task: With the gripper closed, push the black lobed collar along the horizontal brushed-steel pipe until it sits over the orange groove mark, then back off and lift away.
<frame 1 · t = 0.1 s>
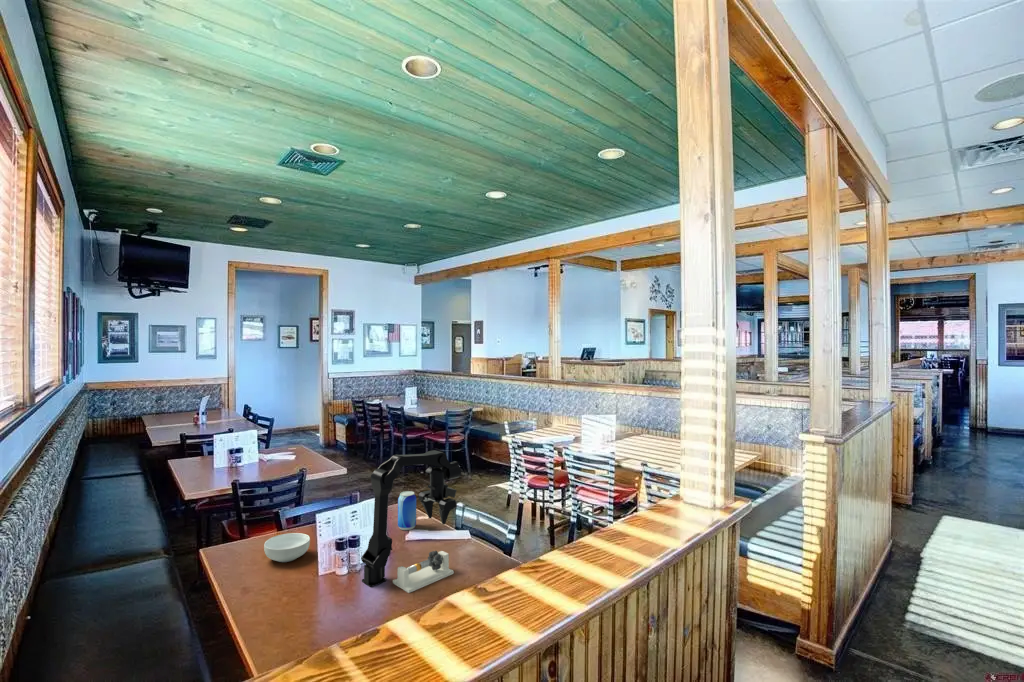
hand: (437, 521, 199), 15 cm above the table, fingers open, 9 cm apart
cereal bowl: (287, 558, 198), on the table
beer can: (407, 527, 231), on the table
base board: (423, 578, 181), on the table
black lobed collar: (434, 560, 185), point 5 cm above the table, slide at 0.0 cm
pipe: (423, 564, 181), point 4 cm above the table
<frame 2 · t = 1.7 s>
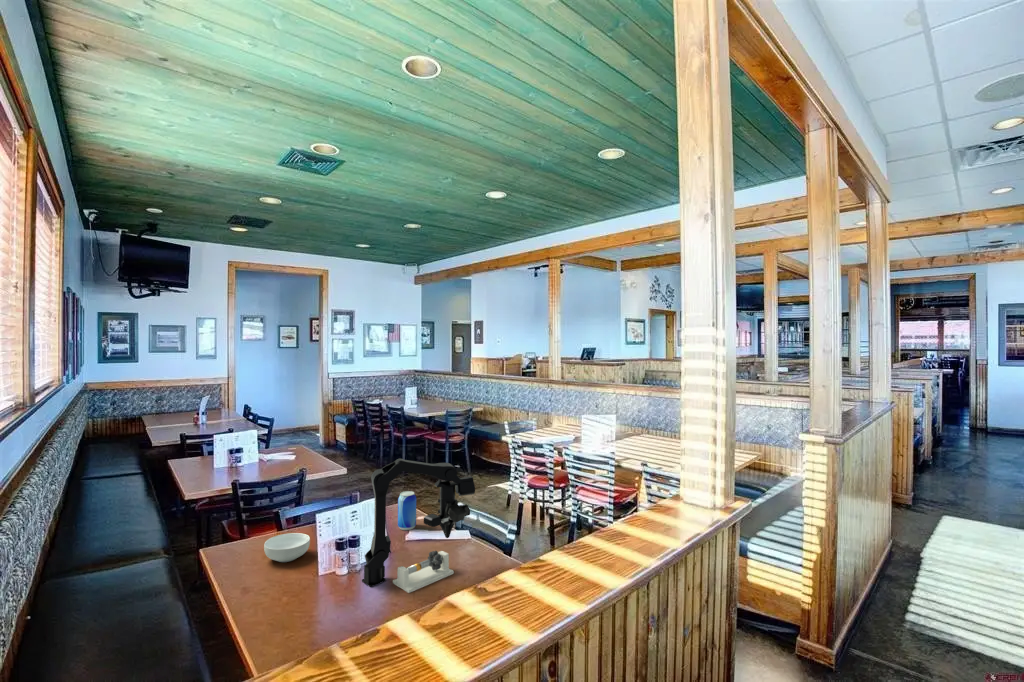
hand: (447, 537, 189), 12 cm above the table, fingers closed
nothing on the table moved.
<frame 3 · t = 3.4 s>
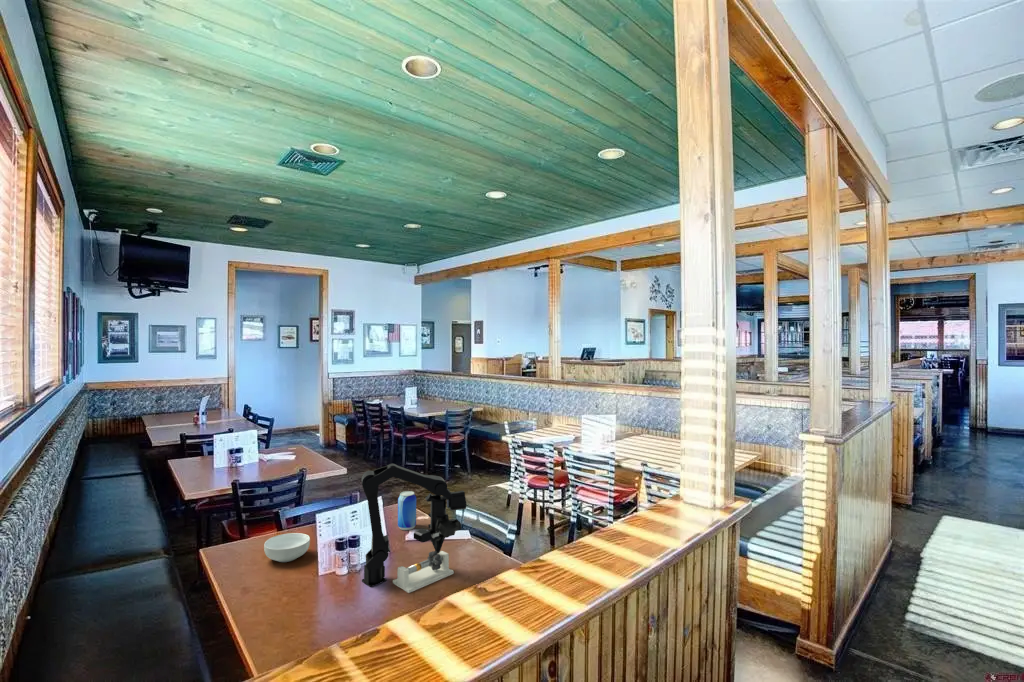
hand: (437, 552, 186), 7 cm above the table, fingers closed
black lobed collar: (434, 560, 185), point 5 cm above the table, slide at 0.1 cm, touching gripper
everything else where it was.
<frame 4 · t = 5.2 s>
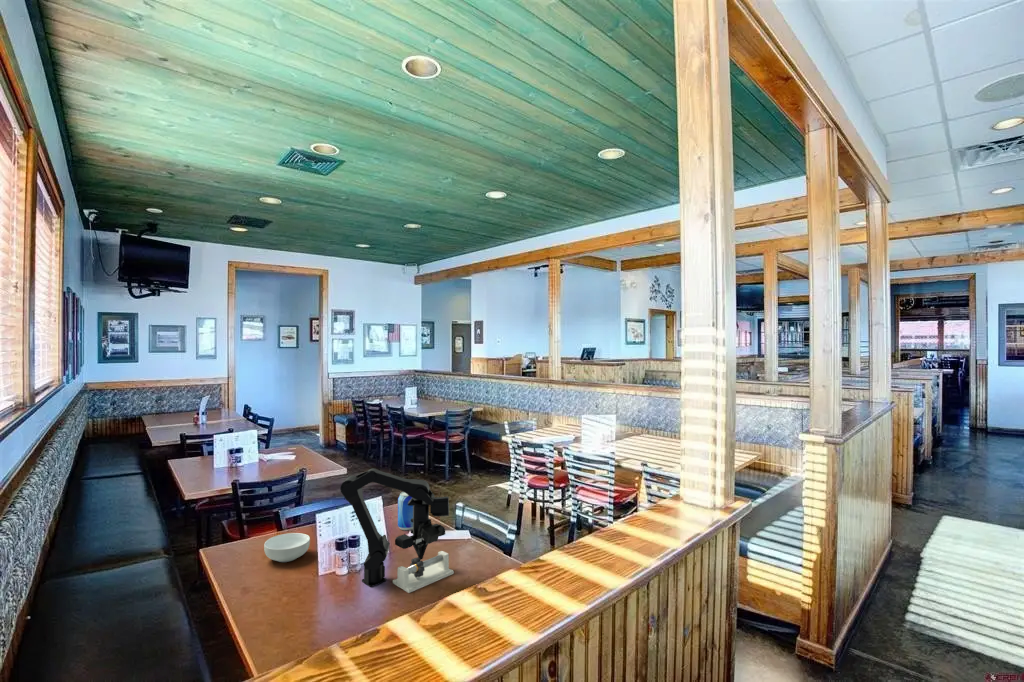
hand: (420, 559, 180), 7 cm above the table, fingers closed
black lobed collar: (417, 567, 179), point 5 cm above the table, slide at 7.9 cm, touching gripper
everything else where it was.
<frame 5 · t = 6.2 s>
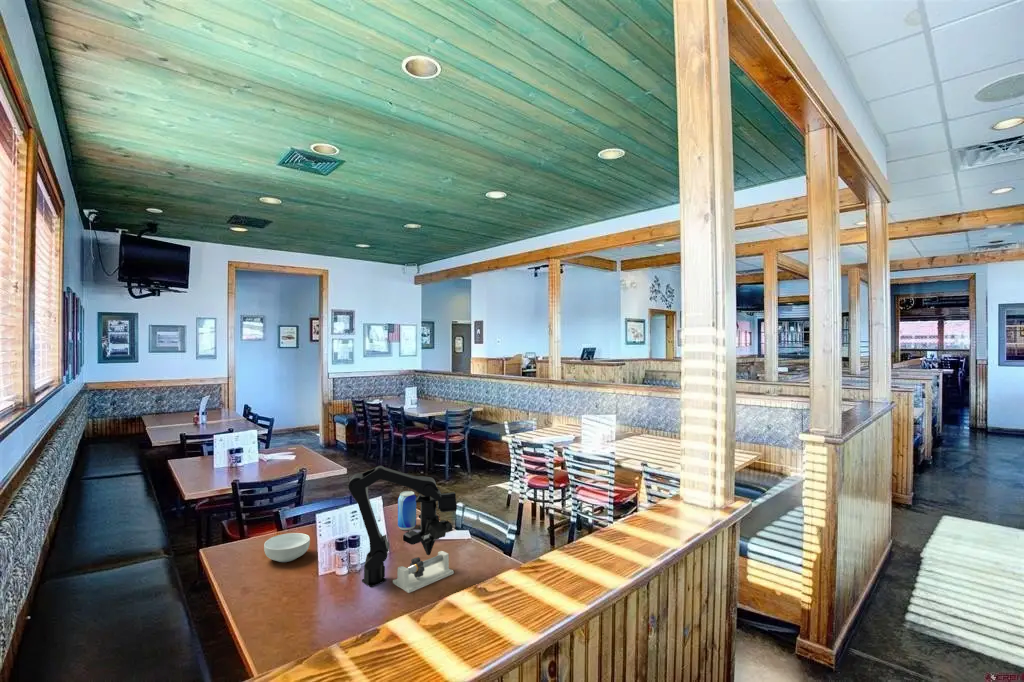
hand: (428, 554, 183), 8 cm above the table, fingers closed
black lobed collar: (417, 567, 179), point 5 cm above the table, slide at 8.0 cm
everything else where it was.
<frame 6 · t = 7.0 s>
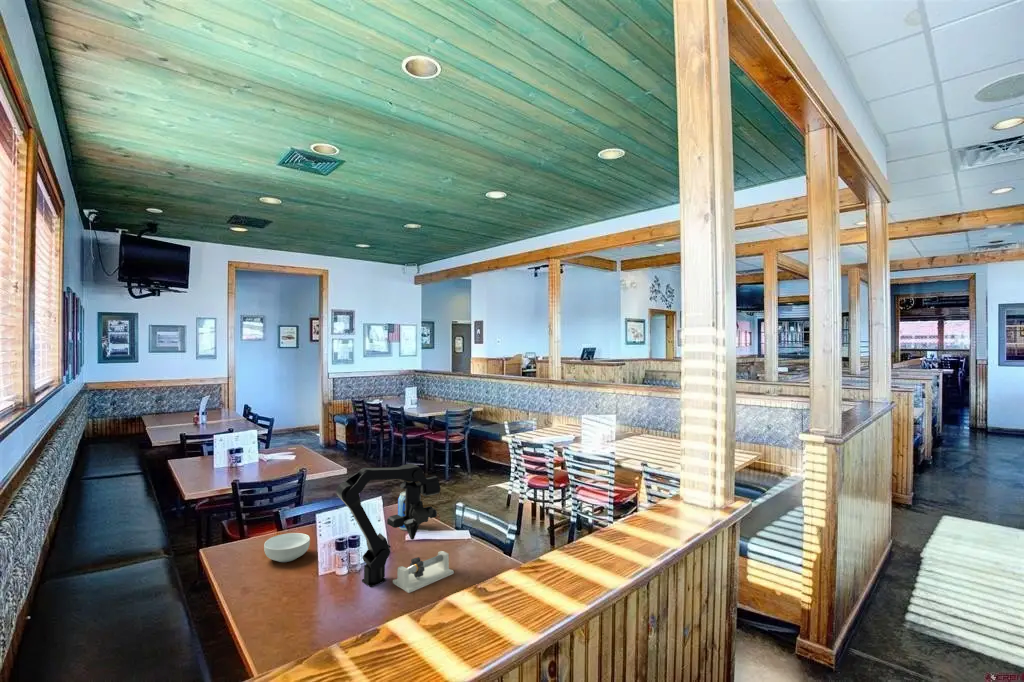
hand: (412, 539, 188), 12 cm above the table, fingers closed
nothing on the table moved.
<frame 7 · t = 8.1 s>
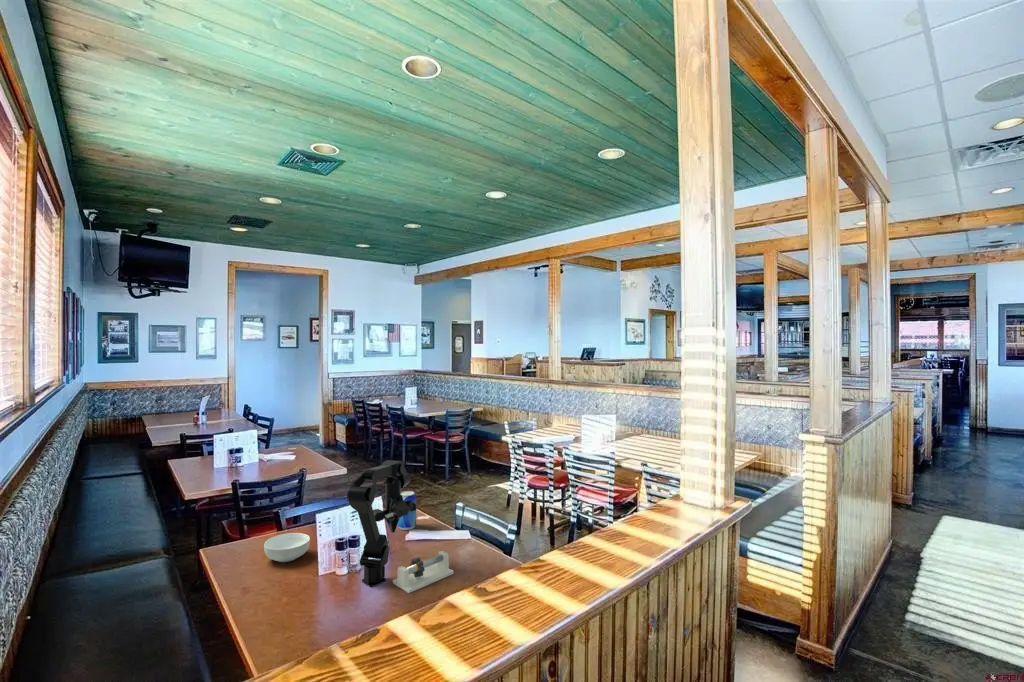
hand: (392, 532, 194), 12 cm above the table, fingers closed
nothing on the table moved.
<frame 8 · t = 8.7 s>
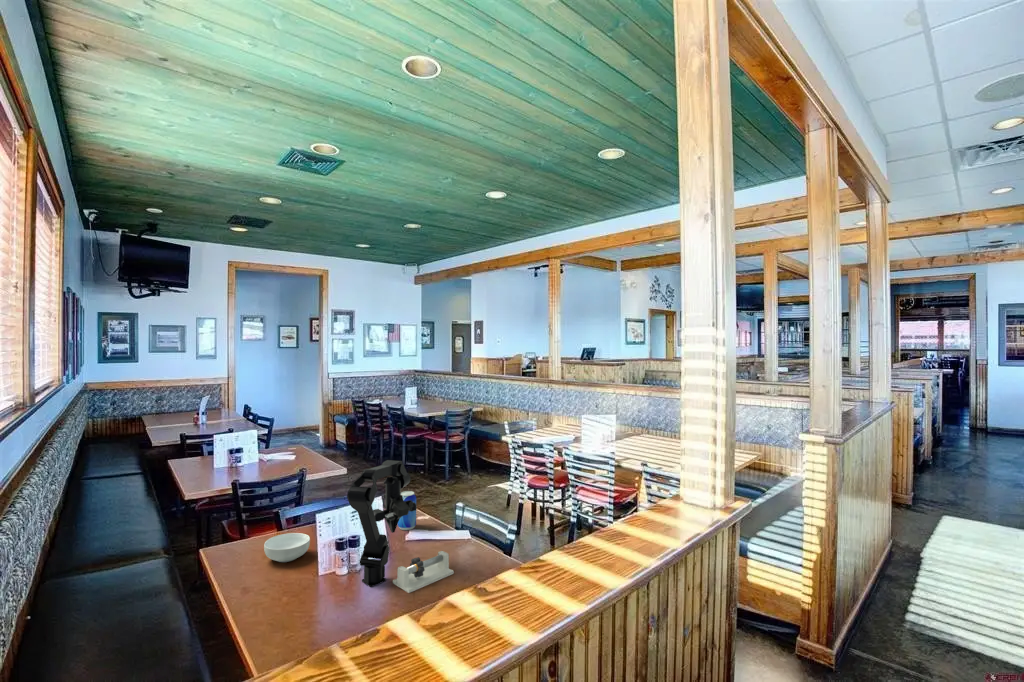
hand: (392, 532, 194), 12 cm above the table, fingers closed
nothing on the table moved.
at the end: black lobed collar slide at 8.0 cm; the gripper is holding nothing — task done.
